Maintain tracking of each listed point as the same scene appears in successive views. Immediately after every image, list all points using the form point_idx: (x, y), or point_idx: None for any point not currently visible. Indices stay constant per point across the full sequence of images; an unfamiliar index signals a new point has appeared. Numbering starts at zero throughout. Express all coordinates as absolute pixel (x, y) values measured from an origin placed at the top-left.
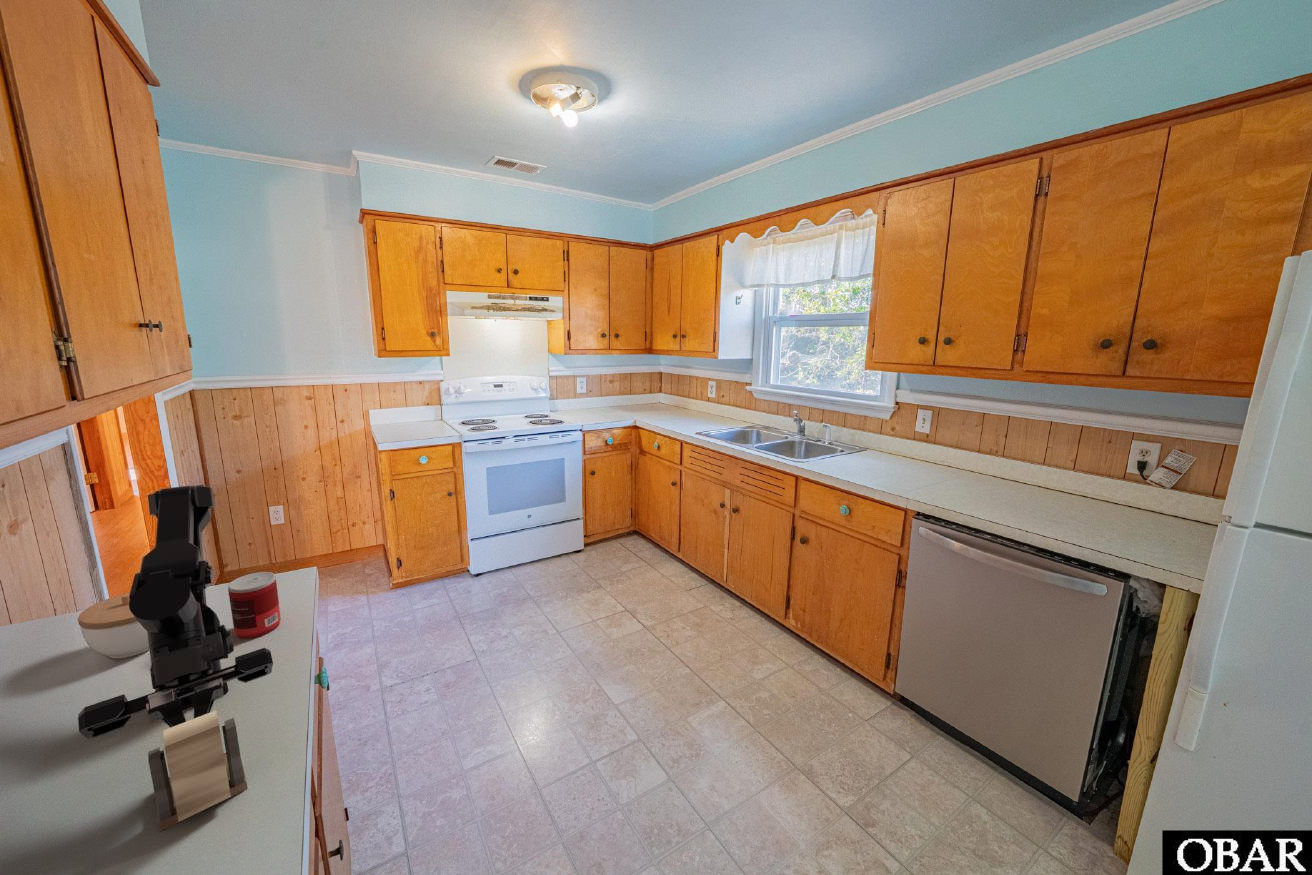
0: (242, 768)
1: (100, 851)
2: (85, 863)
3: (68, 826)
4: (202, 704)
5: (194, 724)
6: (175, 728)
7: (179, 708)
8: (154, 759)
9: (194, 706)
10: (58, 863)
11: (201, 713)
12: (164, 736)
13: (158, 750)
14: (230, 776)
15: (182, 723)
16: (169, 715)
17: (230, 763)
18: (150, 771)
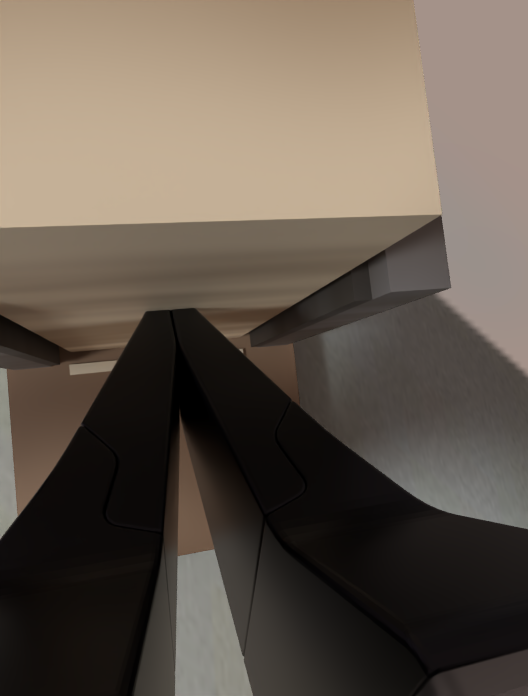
0: (13, 404)
1: (409, 321)
2: (434, 298)
3: (503, 501)
4: (51, 583)
5: (134, 72)
6: (330, 158)
7: (335, 553)
8: None
9: (150, 567)
10: (491, 348)
11: (90, 494)
12: (417, 74)
13: (391, 250)
14: None
15: (268, 210)
16: (418, 518)
17: None
18: None
